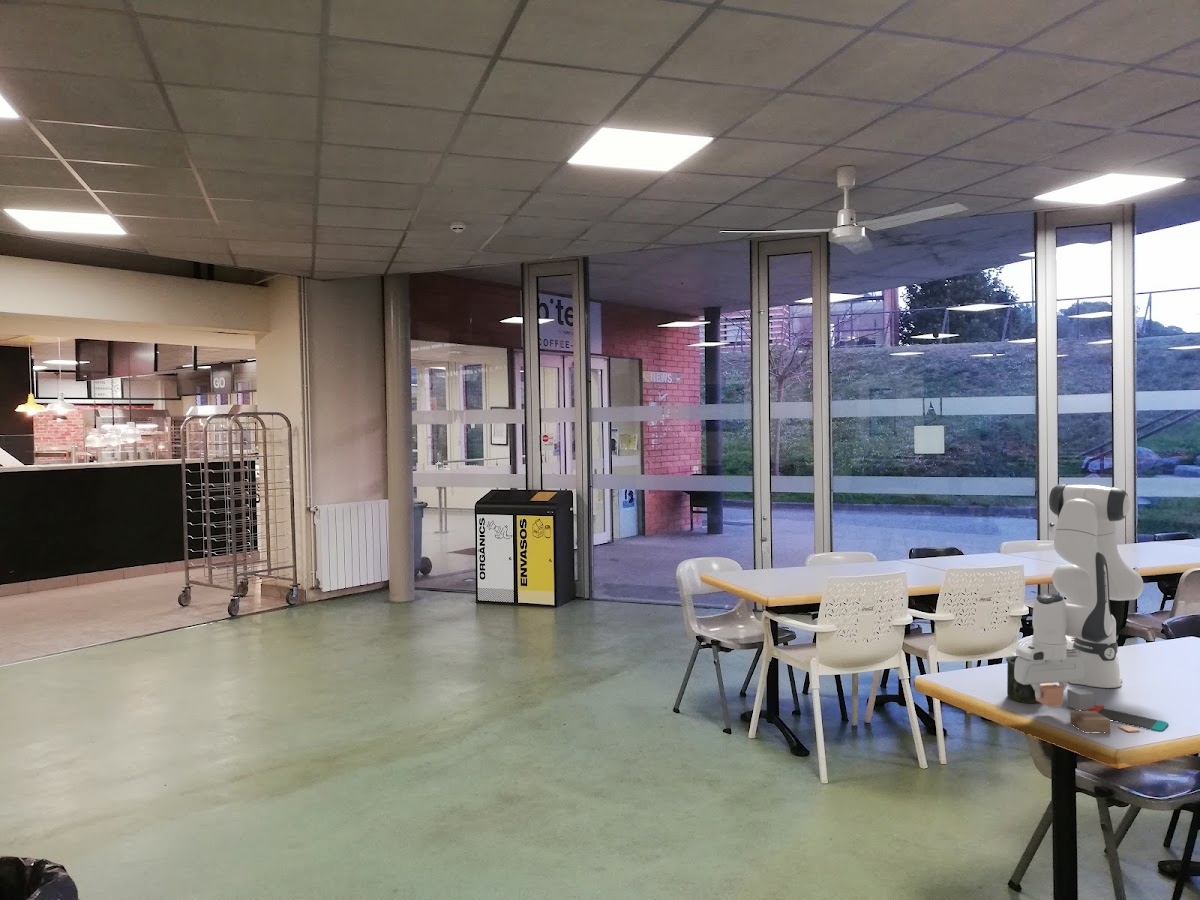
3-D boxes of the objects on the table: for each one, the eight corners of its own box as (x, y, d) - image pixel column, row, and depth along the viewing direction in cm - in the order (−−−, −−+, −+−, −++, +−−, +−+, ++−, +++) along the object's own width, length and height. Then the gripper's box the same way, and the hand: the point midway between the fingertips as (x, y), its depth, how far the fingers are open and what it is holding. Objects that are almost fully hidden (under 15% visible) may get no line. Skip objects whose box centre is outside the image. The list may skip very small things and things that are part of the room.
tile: (1118, 727, 225) (1118, 726, 225) (1129, 727, 225) (1129, 725, 225) (1128, 732, 221) (1128, 730, 221) (1139, 731, 222) (1139, 730, 222)
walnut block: (1070, 724, 228) (1070, 710, 228) (1095, 725, 228) (1095, 711, 228) (1084, 733, 221) (1084, 719, 221) (1110, 734, 221) (1110, 719, 221)
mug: (1049, 698, 250) (1049, 660, 250) (1036, 710, 240) (1036, 670, 240) (1012, 690, 258) (1012, 653, 258) (997, 701, 247) (997, 663, 247)
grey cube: (1067, 705, 244) (1067, 689, 244) (1082, 704, 244) (1082, 688, 244) (1079, 711, 239) (1079, 694, 239) (1094, 710, 239) (1094, 693, 239)
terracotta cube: (1035, 700, 238) (1035, 683, 237) (1050, 699, 238) (1051, 682, 238) (1047, 706, 233) (1047, 689, 232) (1062, 704, 233) (1063, 687, 233)
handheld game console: (1162, 735, 222) (1170, 724, 228) (1162, 731, 221) (1171, 720, 228) (1083, 717, 236) (1094, 707, 243) (1083, 713, 236) (1094, 703, 242)
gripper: (1073, 645, 239) (1073, 691, 240) (1010, 649, 237) (1010, 695, 237) (1089, 651, 233) (1089, 698, 234) (1025, 655, 230) (1025, 702, 231)
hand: (1049, 696), depth 235 cm, fingers closed on terracotta cube, 5 cm apart
